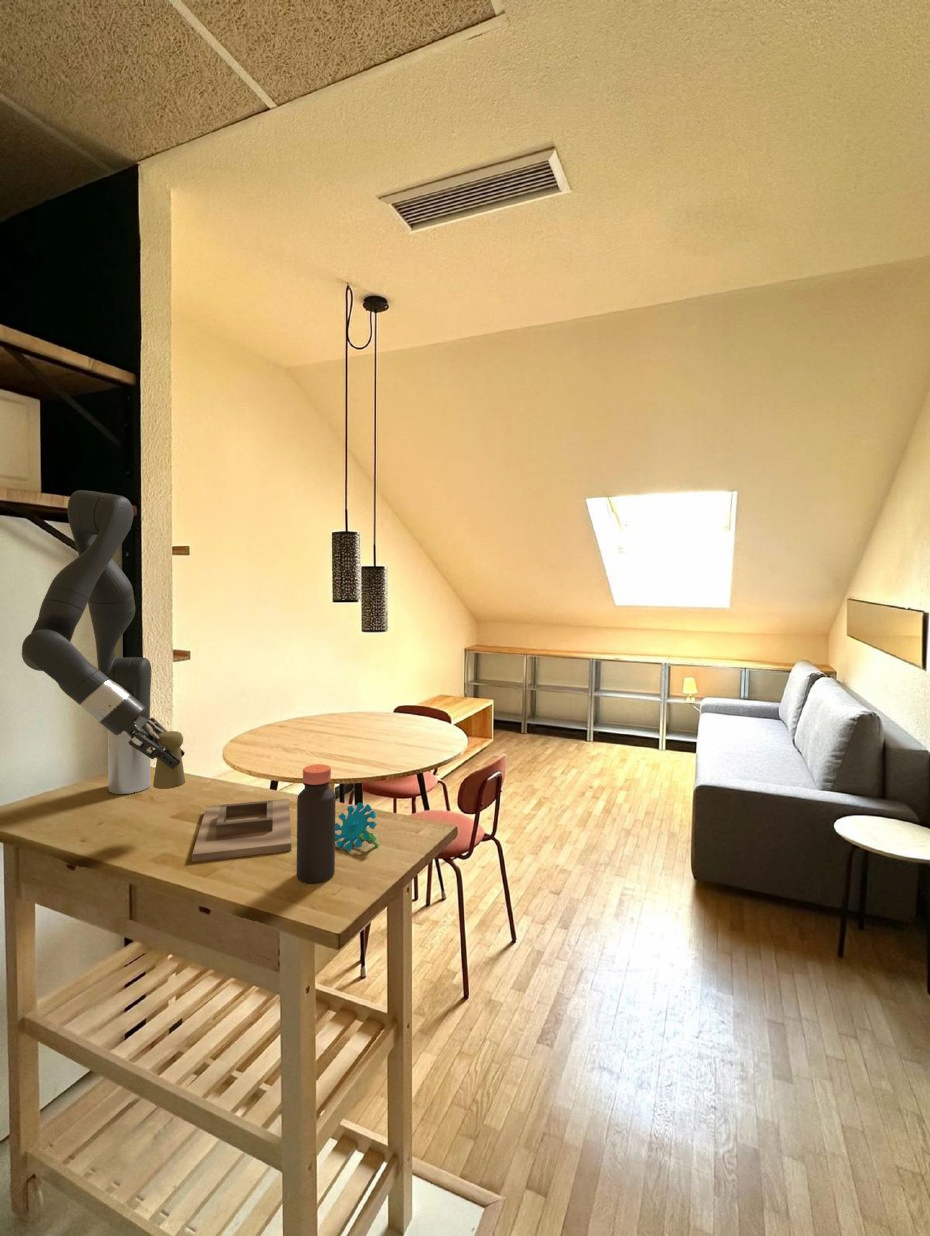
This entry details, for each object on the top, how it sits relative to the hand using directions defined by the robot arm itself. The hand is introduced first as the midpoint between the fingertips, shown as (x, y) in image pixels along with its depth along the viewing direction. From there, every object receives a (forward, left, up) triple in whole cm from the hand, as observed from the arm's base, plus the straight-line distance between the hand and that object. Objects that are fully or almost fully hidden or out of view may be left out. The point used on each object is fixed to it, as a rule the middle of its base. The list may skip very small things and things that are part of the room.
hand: (179, 760), depth 120 cm
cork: (0, -2, -5) cm, 5 cm away
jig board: (+3, +13, -15) cm, 20 cm away
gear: (+16, +35, -16) cm, 41 cm away
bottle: (+26, +26, -15) cm, 40 cm away
